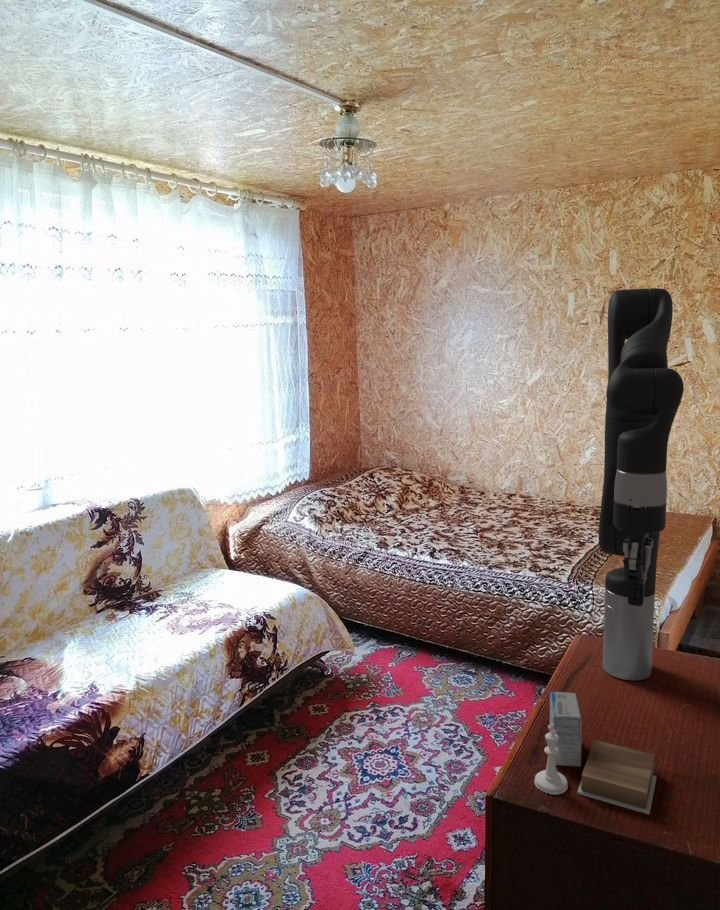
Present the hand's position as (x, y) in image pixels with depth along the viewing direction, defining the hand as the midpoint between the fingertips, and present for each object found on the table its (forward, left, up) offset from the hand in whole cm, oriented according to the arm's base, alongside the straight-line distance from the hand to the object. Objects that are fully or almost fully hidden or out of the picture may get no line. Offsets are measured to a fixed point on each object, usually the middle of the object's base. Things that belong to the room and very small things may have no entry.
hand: (635, 604), depth 108 cm
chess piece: (+15, -9, -25) cm, 31 cm away
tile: (+5, 0, -23) cm, 24 cm away
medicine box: (+6, -9, -25) cm, 28 cm away
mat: (+11, 0, -25) cm, 27 cm away
